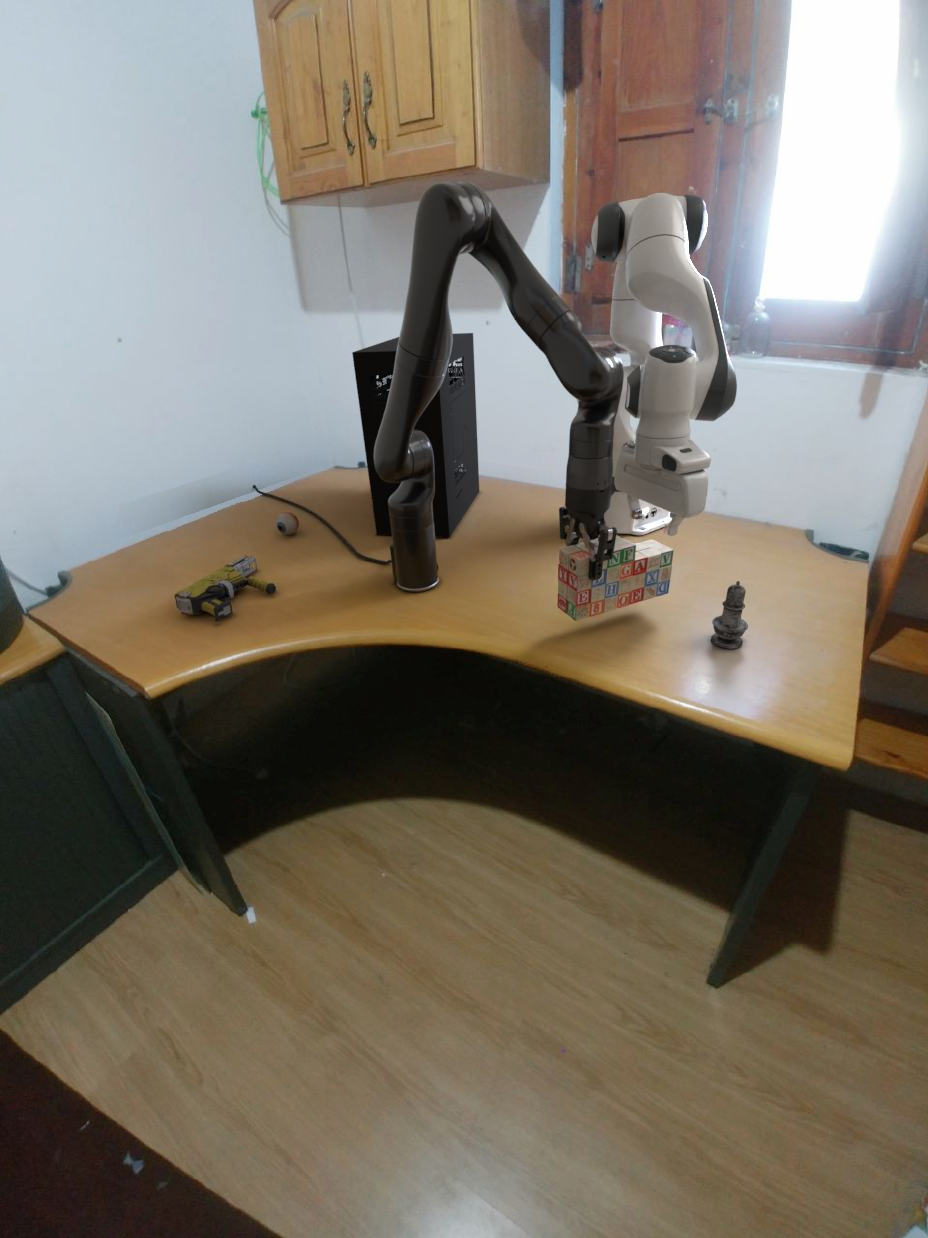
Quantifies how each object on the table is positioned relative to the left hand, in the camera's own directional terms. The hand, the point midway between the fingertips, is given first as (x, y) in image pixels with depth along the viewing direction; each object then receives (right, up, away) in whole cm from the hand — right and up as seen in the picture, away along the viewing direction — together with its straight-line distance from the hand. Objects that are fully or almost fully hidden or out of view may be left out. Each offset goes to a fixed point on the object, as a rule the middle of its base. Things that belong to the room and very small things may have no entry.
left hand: (583, 571), depth 108 cm
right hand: (+13, +8, +2) cm, 16 cm away
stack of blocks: (+7, -5, +7) cm, 11 cm away
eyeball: (-69, +15, +57) cm, 91 cm away
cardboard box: (-31, +22, +67) cm, 77 cm away
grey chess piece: (+26, -13, 0) cm, 29 cm away
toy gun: (-71, -4, +26) cm, 76 cm away
